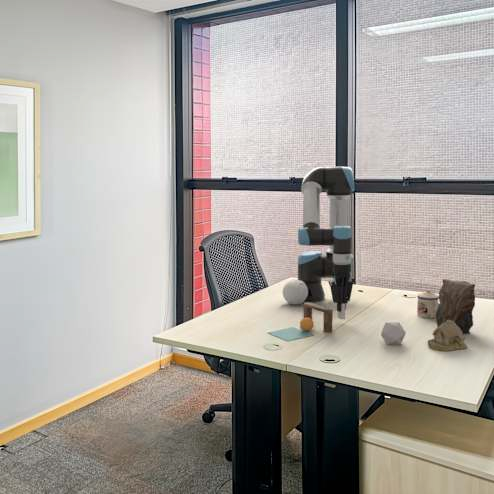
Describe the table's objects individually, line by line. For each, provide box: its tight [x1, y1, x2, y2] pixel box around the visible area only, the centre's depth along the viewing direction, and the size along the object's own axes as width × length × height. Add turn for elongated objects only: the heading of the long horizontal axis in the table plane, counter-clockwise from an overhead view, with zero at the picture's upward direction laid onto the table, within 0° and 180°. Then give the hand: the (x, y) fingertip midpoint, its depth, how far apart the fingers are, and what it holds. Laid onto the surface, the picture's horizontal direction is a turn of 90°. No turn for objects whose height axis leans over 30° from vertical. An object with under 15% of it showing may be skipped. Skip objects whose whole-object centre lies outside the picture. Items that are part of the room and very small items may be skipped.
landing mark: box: [266, 326, 314, 342], centre depth 220 cm, size 13×13×1 cm
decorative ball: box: [282, 279, 308, 306], centre depth 266 cm, size 12×12×12 cm
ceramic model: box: [426, 319, 468, 352], centre depth 203 cm, size 14×11×10 cm
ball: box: [299, 317, 315, 332], centre depth 224 cm, size 6×6×6 cm
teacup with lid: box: [416, 288, 440, 319], centre depth 242 cm, size 12×9×12 cm
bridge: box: [302, 302, 334, 334], centre depth 227 cm, size 3×14×9 cm, turn 33°
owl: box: [435, 278, 476, 335], centre depth 221 cm, size 13×13×20 cm
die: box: [380, 321, 407, 346], centre depth 207 cm, size 8×9×10 cm
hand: (341, 318), depth 235 cm, fingers closed
